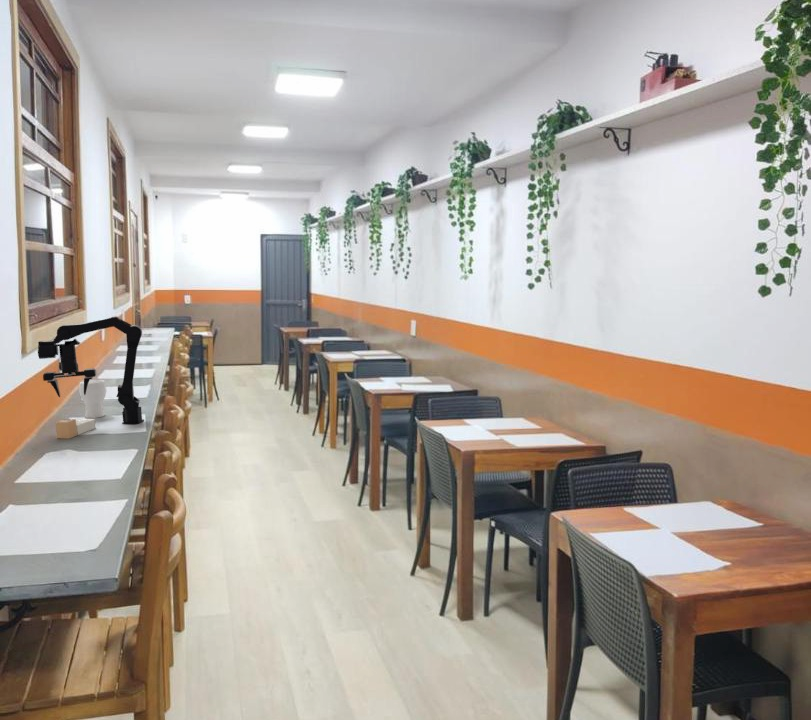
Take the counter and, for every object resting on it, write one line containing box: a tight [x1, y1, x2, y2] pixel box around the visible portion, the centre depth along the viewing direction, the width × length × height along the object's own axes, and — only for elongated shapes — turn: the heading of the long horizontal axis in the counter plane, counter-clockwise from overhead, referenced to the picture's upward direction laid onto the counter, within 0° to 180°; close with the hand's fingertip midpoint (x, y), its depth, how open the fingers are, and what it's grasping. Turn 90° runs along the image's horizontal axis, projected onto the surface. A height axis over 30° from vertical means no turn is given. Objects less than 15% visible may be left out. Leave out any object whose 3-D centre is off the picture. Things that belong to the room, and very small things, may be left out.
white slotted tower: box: [76, 418, 97, 436], centre depth 289 cm, size 5×12×4 cm, turn 171°
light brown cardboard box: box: [55, 418, 78, 439], centre depth 280 cm, size 5×5×6 cm
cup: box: [78, 379, 107, 419], centre depth 317 cm, size 11×11×15 cm
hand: (72, 396), depth 295 cm, fingers open, 9 cm apart
